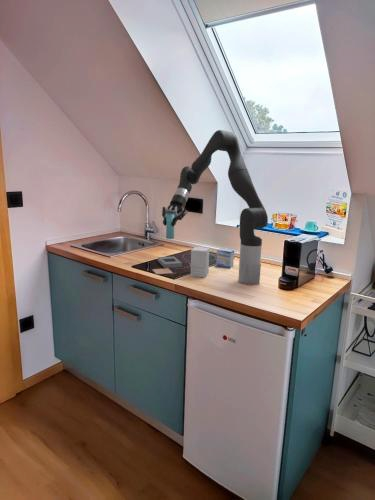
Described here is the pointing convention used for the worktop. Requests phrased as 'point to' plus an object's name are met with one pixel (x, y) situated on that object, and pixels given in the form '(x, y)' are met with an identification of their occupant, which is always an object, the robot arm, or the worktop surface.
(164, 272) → the coaster
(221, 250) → the medicine box
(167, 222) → the plug
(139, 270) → the worktop surface
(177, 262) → the grey base plate
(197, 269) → the supplement box
